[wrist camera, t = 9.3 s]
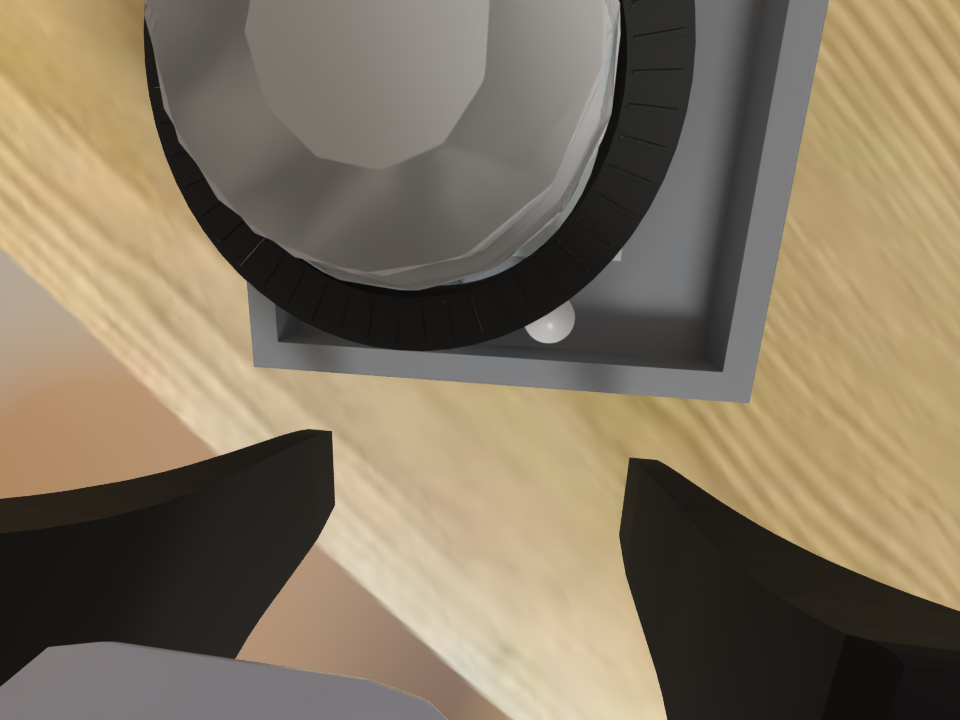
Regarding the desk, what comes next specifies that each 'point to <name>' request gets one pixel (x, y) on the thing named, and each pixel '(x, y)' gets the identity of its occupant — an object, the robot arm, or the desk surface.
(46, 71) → the desk surface
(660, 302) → the pin tray
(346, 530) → the desk surface
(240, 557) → the robot arm
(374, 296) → the push button
